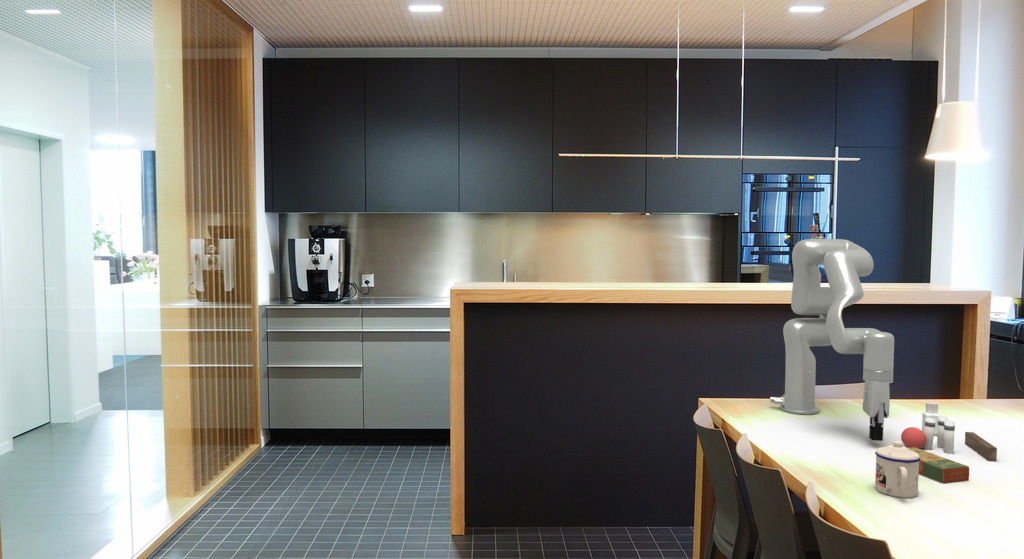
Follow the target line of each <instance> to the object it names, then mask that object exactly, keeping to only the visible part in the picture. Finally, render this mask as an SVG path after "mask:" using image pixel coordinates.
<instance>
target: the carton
mask: <svg viewBox="0 0 1024 559" xmlns="http://www.w3.org/2000/svg"><path fill="white" fill-rule="evenodd" d="M907 448H908V447H907ZM908 449H909V450H911V451H914V452H916V453H918V454H919V456H920V461H919V476H922V477H925V478H926V479H929V480H932V481H934V482H937V483H940V484H942V483H943V485H944V484H954V483H960V482H962V483H963V482H968V481H969V480H970V467H969V466H968V465H966V464H963V463H960V462H958V461H957V462H956V461H955V460H952V459H949V458H946V457H943V456H941V455H937V454H935V453H932V452H929V451H926V450H925V449H921V448H919V449H918V448H908Z"/></svg>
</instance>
